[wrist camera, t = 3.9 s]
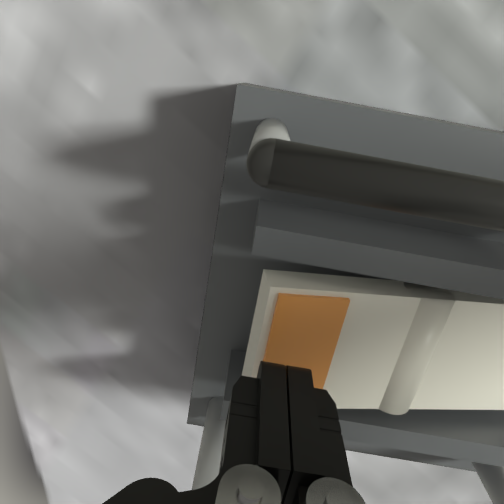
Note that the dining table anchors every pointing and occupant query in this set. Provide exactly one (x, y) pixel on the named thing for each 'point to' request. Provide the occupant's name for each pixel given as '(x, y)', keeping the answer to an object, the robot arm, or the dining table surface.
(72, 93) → the dining table surface
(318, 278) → the breaker paddle
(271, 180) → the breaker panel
